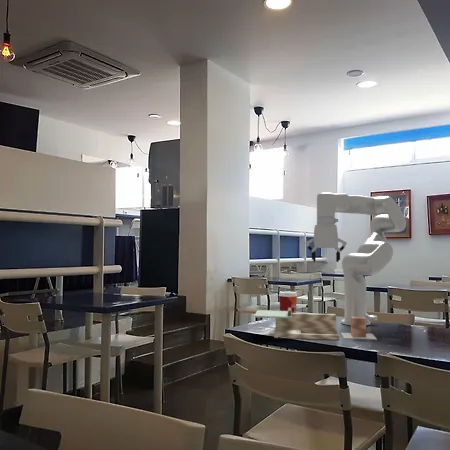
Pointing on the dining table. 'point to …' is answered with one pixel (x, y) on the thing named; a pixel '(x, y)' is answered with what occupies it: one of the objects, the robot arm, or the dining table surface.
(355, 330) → the terracotta block
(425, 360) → the dining table surface
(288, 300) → the coffee cup
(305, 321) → the wooden box
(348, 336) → the grey mat
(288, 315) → the sliding lid
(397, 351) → the dining table surface
